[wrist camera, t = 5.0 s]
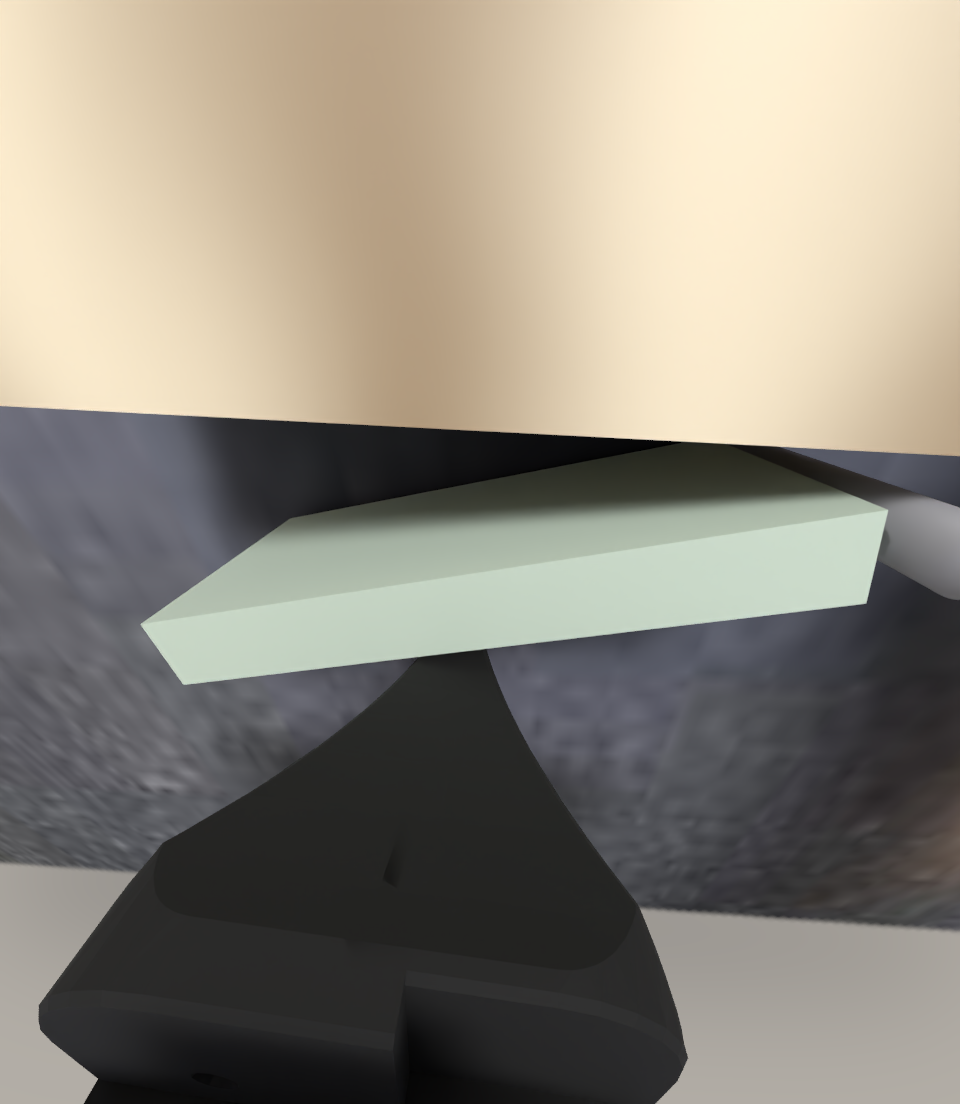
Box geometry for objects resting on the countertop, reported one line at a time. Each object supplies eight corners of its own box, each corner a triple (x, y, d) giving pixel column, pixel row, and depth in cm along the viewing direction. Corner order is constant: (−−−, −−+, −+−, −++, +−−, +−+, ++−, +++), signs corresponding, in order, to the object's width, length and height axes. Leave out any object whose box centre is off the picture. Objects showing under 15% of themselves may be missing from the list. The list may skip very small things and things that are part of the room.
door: (764, 424, 9) (1056, 501, 4) (756, 524, 10) (981, 679, 5) (293, 515, 11) (118, 639, 6) (327, 590, 12) (200, 747, 7)
